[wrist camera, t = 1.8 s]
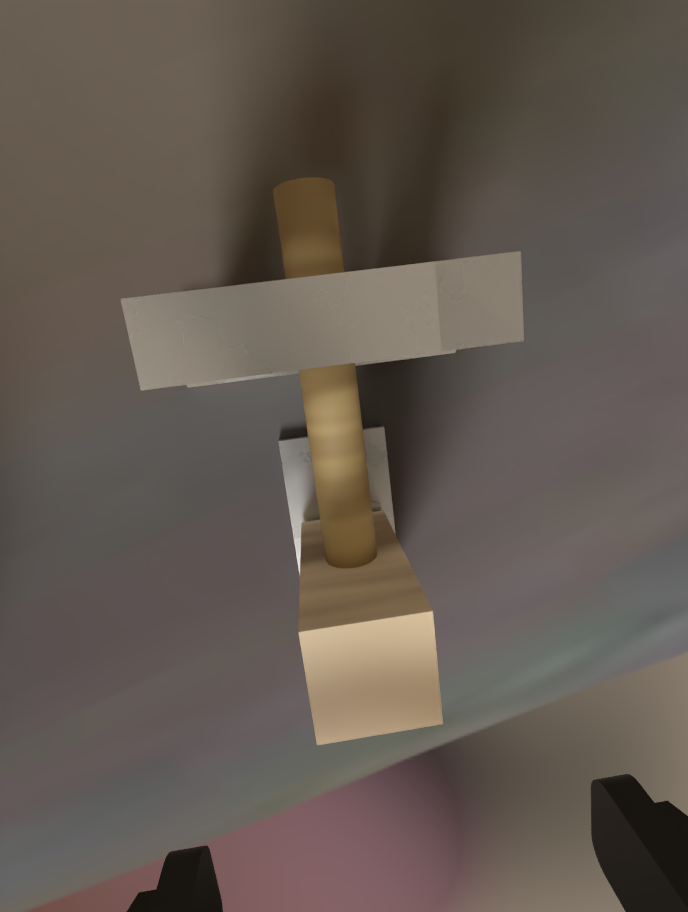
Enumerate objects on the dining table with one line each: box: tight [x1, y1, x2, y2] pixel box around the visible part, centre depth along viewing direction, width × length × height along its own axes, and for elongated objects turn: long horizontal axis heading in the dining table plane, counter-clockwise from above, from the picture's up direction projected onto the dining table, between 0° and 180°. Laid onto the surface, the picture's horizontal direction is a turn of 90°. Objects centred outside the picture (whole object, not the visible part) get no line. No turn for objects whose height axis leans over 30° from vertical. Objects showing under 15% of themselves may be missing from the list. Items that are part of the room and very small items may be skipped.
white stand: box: [121, 251, 524, 574], centre depth 18 cm, size 19×12×11 cm, turn 7°
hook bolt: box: [273, 177, 443, 745], centre depth 17 cm, size 17×4×9 cm, turn 7°
